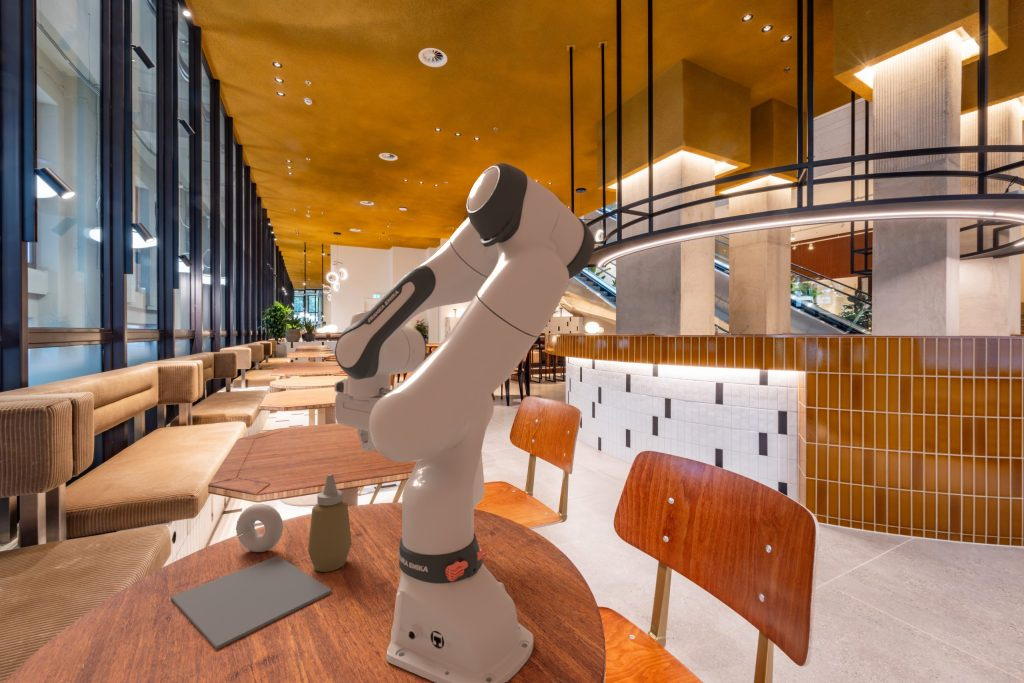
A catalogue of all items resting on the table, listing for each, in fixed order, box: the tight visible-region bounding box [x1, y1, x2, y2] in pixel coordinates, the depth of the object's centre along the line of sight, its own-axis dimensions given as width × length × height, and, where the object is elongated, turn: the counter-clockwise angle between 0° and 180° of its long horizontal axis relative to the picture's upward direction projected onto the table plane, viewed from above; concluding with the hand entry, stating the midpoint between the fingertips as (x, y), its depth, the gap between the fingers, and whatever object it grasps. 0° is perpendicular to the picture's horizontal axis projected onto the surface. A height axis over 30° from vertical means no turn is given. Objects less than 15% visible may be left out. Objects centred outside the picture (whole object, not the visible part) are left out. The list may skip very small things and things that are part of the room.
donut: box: [235, 503, 284, 553], centre depth 93 cm, size 10×4×10 cm, turn 83°
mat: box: [170, 555, 333, 650], centre depth 77 cm, size 20×18×1 cm
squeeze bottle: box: [307, 473, 352, 573], centre depth 88 cm, size 8×8×18 cm
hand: (368, 450), depth 95 cm, fingers closed
